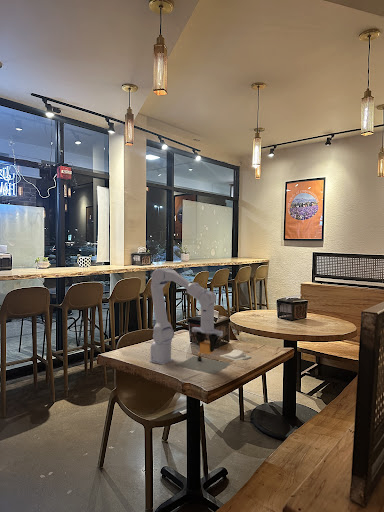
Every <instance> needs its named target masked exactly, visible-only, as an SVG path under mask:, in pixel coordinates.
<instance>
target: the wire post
mask: <svg viewBox="0 0 384 512" xmlns="http://www.w3.org/2000/svg"><path fill="white" fill-rule="evenodd" d="M197 355H198V356H196V357H197V361H202V358H203V357H202V353H200V352H198V353H197Z"/></svg>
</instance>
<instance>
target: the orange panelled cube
mask: <svg viewBox="0 0 384 512" xmlns="http://www.w3.org/2000/svg"><path fill="white" fill-rule="evenodd" d="M199 353H201V354H202V355H203V354H204V355H211V354H213V353H215V350H214V351H213V352H210V340H206V339H204V341H202V342H200V347H199Z"/></svg>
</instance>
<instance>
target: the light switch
mask: <svg viewBox="0 0 384 512" xmlns="http://www.w3.org/2000/svg"><path fill="white" fill-rule="evenodd" d="M219 357H221V358H225V359H228V360H232V361H235V362H239V361H240V360H242V361H247V360H249V359H252V356H250V355H246V354H245V353H244V351H243V350H239V349H233V350H232V351H230V352H229V353H224V354H221V355H219Z"/></svg>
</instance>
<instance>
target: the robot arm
mask: <svg viewBox="0 0 384 512" xmlns="http://www.w3.org/2000/svg"><path fill="white" fill-rule="evenodd" d="M150 275H151V282H150V291H151V292H150V293H151V298H152V304H153V306H152V307H153V311H154V317H155V325H154V326H153V333H152V339H153V342H152V343H151V345H150V360H149V362H151V363H156V364H160V365H165V364H167V363H169V362H171V361H174V358H172V341H173V339H174V337H175V330H174V329H173V327H172V324H171V322H169V320H168V314H167V310H166V309H167V308H166V307H167V306H166V303H165V295H164V290H163V289H164V287H165V286H166V285H167V284H168V283H169V282H174V283H176V284H177V285H179V286H180V287H182V288H184V289H185V290H186V293H187V294H188V295H190V296H191V297H192V298H194V299H195V300H197V301H198V303H199V304H200V327H199V326H198V327H197V326H193V327H191V332H192V333H195V334H194V337H195V338H196V340H197V343H198V346H199V348H200V342H202V341H205V338H206V335H209V336H208V339H209V341H210V352H213V351H214V352H215V347H216V344H217V342H218V339H219V338H220V337H221V338H222V337H223V336H224V331H223V330H218V329H215V303H216V301H217V295H216V294H215V292H213V290H209V291H208V289H207V288H204V287H203V286H201V285H200V283H199V282H190V281H189V280H187V279H186V278H184V277H183V276H182V275H180V274H179V273H178V272H177V271H176V270H174V269H173V268H171V267H166V268H165V267H163V268H155V269H154V270H153V271H152V272H151V273H150ZM214 352H213V353H214Z"/></svg>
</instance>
